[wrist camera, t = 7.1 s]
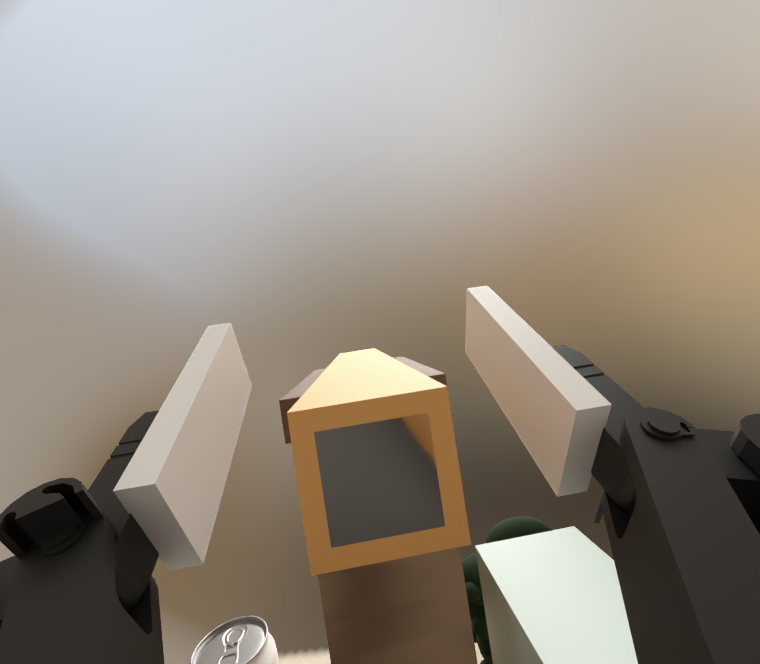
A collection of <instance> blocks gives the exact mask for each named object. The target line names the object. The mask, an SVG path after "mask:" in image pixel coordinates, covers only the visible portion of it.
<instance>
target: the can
mask: <svg viewBox="0 0 760 664" xmlns="http://www.w3.org/2000/svg"><path fill="white" fill-rule="evenodd" d="M190 664H279V660H278V654H277V649H276V645H275V641H274V639H273V637H272V636H271V634H270V633H269V632H268V627H267V624H266V622H265V621H264V620H263V619H261V618H259V617H255V616H243V617H238V618H235V619H232V620H229V621H227V622H225V623H223V624H222V625H220V626H218V627H217V628H215V629H214V630H212V631H211V632H210V633H209V634H207V635H206V636H205V637H204V638H203V639H202V640H201V642H200V643H199V644H198V645H197V647H196V648H195V650H194V652H193V654H192V656H191V660H190Z"/></svg>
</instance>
